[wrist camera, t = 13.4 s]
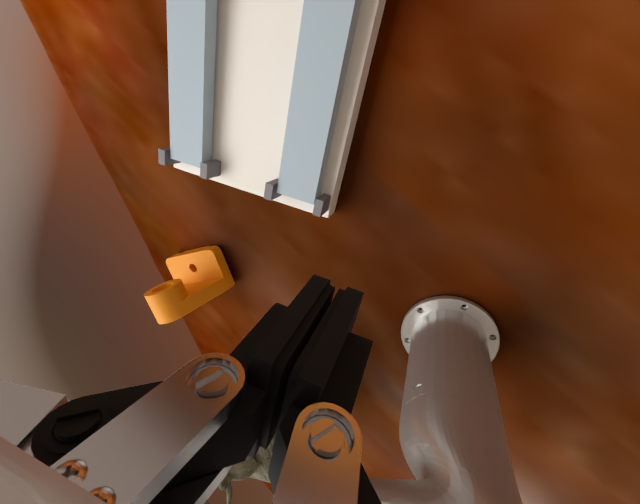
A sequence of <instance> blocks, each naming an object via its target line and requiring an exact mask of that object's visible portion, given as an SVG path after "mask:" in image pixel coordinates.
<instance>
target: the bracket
mask: <svg viewBox="0 0 640 504" xmlns="http://www.w3.org/2000/svg"><path fill="white" fill-rule="evenodd" d="M166 264H167V266H168V268H169V271H170V273H171V275H172V277H173V279H174V280H170V281H167V282H164V283H162V284H160V285H158V286H155V287H154V288H152V289H150V290H149V291H147V292H146V293H145V294H144V296H145V298H146V300H147V302H148V304H149V306H150V308H151V310H152V312H153V314H154V316H155V318H156V320H157V322H158V323H159V324H166V323H170V322H173V321H175V320H177V319H179V318H181V317H183V316H185V315H186V314H188V313H190V312H192V311H193V310H195V309H197V308H198V307H200V306H202V305H203V304H205V303H207V302H208V301H210V300H212V299H213V298H215V297H217V296H219V295H220V294H222V293H224V292H225V291H227V290H229V289H230V288H231V287H232V286H234V285H235V282H234V280H233V277H232V275H231V273H230V270H229V268H228V265H227V263H226V261H225V258H224V256H223V253H222V251H221V249H220V248H219V247H218V246H206V247H201V248H197V249H192V250H188V251H185V252H183V253H179V254H175V255H173V256H171V257H169V258H168V259H166Z"/></svg>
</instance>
